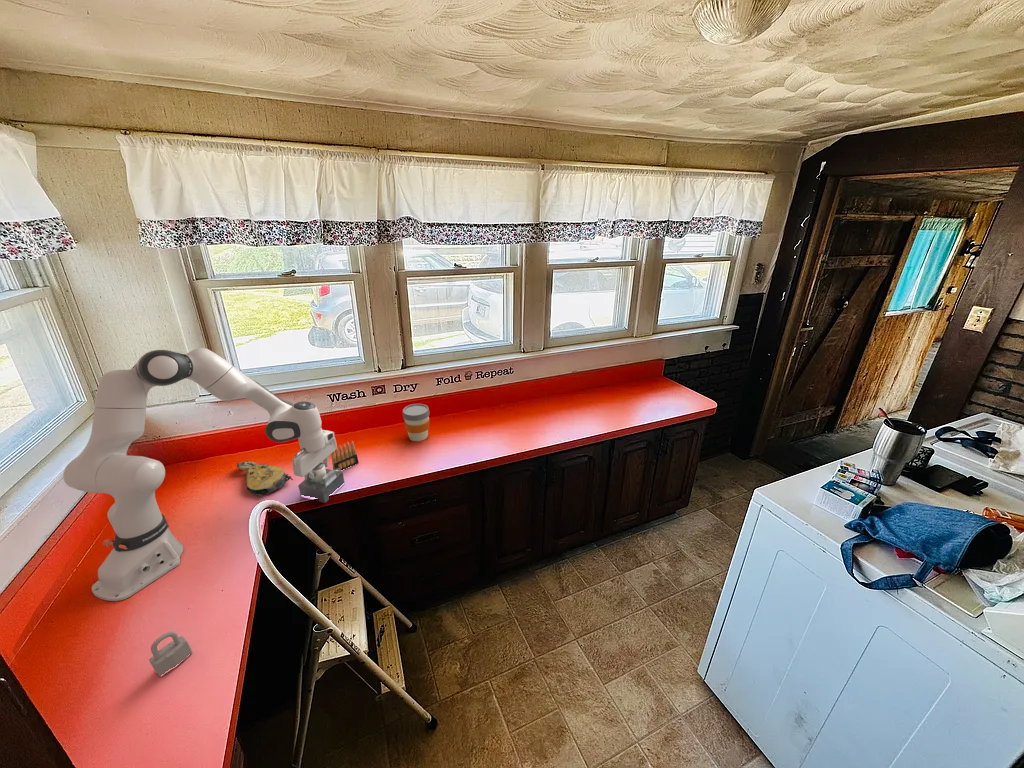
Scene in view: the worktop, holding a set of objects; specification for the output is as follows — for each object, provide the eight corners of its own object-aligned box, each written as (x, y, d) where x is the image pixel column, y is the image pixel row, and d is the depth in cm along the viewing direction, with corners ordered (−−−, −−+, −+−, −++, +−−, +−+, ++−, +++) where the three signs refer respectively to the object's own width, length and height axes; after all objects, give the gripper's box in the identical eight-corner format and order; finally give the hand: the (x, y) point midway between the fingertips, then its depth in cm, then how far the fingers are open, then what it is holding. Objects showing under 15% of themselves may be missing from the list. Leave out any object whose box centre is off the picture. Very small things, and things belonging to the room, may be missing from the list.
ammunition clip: (335, 474, 175) (330, 450, 170) (333, 472, 176) (328, 448, 171) (359, 463, 182) (354, 440, 177) (356, 461, 183) (352, 438, 178)
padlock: (161, 679, 100) (147, 653, 96) (154, 670, 102) (139, 644, 98) (194, 654, 106) (181, 628, 101) (186, 646, 108) (174, 620, 103)
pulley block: (257, 447, 182) (292, 472, 165) (263, 457, 185) (297, 482, 168) (224, 466, 172) (257, 495, 156) (230, 476, 175) (263, 505, 159)
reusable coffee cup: (405, 444, 196) (402, 417, 190) (405, 431, 207) (402, 405, 201) (432, 441, 198) (429, 414, 192) (430, 428, 210) (428, 402, 203)
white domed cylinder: (321, 483, 159) (318, 470, 157) (310, 480, 161) (307, 468, 158) (329, 475, 164) (327, 462, 161) (319, 473, 165) (316, 460, 162)
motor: (325, 502, 158) (320, 484, 154) (301, 497, 161) (296, 478, 157) (350, 478, 172) (347, 460, 168) (328, 473, 175) (324, 456, 171)
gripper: (299, 458, 145) (307, 490, 151) (336, 430, 163) (342, 459, 169) (284, 455, 147) (292, 486, 153) (323, 427, 165) (329, 456, 171)
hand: (319, 472), depth 161 cm, fingers open, 6 cm apart
